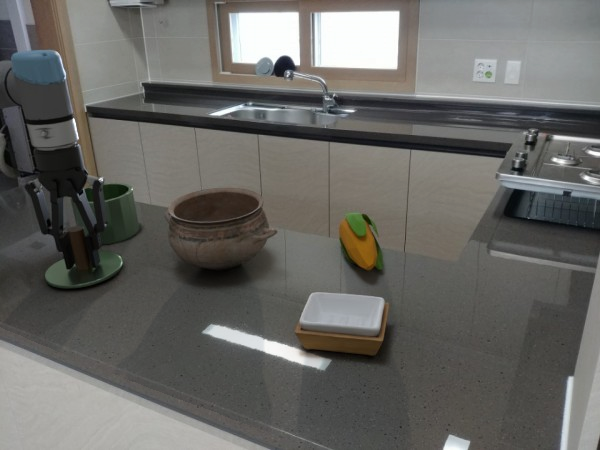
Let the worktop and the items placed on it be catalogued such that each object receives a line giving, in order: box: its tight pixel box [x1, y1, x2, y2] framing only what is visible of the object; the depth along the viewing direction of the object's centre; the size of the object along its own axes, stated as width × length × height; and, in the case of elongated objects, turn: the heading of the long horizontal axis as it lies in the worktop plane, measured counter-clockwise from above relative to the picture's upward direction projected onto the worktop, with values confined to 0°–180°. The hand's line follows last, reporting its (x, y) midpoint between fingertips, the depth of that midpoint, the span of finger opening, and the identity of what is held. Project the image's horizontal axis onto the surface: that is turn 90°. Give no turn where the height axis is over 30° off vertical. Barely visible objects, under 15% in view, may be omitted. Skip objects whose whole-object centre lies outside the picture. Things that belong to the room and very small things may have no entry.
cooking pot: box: [164, 187, 278, 272], centre depth 101 cm, size 25×19×12 cm
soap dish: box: [294, 291, 390, 357], centre depth 79 cm, size 12×10×5 cm
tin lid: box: [44, 225, 123, 289], centre depth 100 cm, size 14×14×9 cm
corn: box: [338, 212, 384, 271], centre depth 101 cm, size 7×8×20 cm
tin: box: [70, 182, 140, 245], centre depth 117 cm, size 13×13×10 cm
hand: (83, 265), depth 101 cm, fingers open, 4 cm apart
